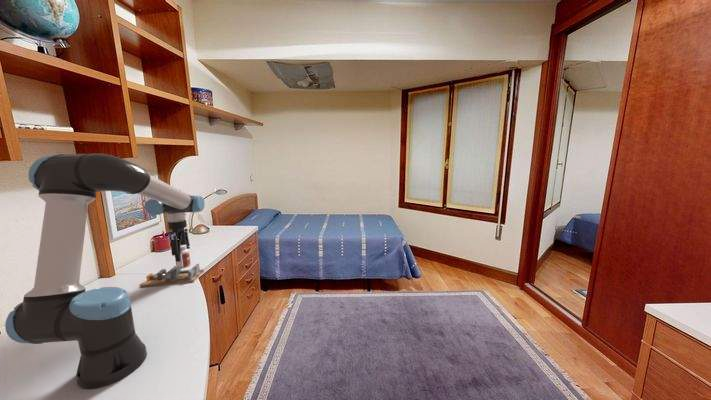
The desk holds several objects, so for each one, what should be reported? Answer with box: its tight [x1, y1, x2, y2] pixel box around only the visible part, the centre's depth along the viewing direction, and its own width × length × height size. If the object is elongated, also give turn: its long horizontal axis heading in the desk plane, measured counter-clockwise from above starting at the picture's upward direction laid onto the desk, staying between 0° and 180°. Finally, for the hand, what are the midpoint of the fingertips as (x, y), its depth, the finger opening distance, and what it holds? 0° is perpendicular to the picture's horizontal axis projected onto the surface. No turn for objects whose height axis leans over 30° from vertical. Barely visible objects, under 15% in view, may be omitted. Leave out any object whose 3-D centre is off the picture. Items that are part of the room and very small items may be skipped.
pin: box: [146, 273, 165, 281], centre depth 131 cm, size 3×8×2 cm, turn 101°
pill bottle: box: [174, 245, 192, 270], centre depth 132 cm, size 6×6×11 cm
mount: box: [139, 263, 205, 288], centre depth 132 cm, size 13×24×5 cm, turn 101°
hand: (183, 264), depth 132 cm, fingers closed on pill bottle, 6 cm apart
